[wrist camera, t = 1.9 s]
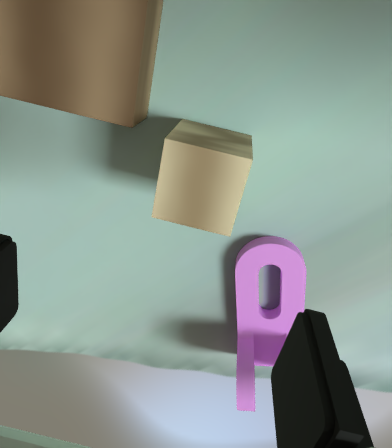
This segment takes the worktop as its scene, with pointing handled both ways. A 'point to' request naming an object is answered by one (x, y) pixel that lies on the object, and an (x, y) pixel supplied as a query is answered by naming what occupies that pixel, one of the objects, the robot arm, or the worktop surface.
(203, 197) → the maple block
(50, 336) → the worktop surface
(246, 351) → the bracket
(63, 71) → the base block
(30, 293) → the worktop surface
